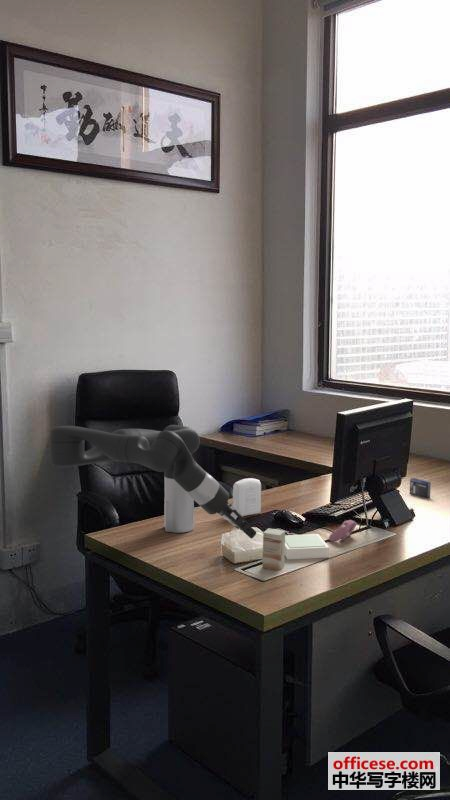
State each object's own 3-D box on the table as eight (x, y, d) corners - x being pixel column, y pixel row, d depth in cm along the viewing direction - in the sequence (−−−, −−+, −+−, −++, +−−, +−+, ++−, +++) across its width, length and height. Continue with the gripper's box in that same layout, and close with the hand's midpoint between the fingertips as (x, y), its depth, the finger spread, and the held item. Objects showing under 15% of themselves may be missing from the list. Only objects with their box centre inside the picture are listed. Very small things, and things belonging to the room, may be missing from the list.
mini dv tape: (409, 493, 274) (410, 478, 273) (412, 493, 275) (412, 477, 274) (427, 498, 267) (428, 482, 266) (430, 497, 268) (430, 481, 267)
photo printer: (255, 510, 252) (255, 475, 250) (262, 513, 248) (263, 478, 246) (230, 515, 246) (230, 479, 244) (238, 518, 242) (238, 482, 241)
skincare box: (261, 568, 197) (262, 532, 196) (267, 562, 201) (267, 527, 200) (279, 570, 195) (280, 534, 193) (285, 565, 199) (285, 530, 197)
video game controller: (339, 548, 217) (349, 530, 215) (326, 539, 219) (337, 521, 217) (351, 539, 226) (361, 521, 223) (339, 530, 227) (349, 513, 225)
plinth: (287, 559, 203) (287, 548, 203) (278, 545, 215) (278, 535, 215) (329, 557, 205) (329, 546, 205) (317, 543, 217) (318, 533, 216)
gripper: (188, 496, 192) (227, 533, 198) (207, 510, 179) (248, 550, 185) (207, 475, 194) (245, 512, 199) (227, 488, 181) (268, 527, 186)
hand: (247, 530), depth 192 cm, fingers open, 8 cm apart
